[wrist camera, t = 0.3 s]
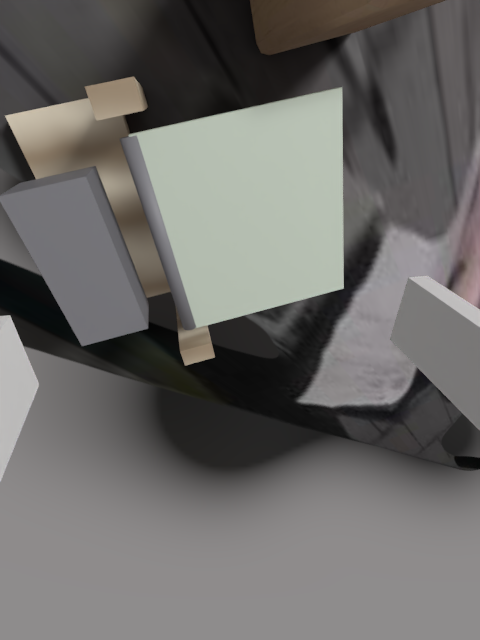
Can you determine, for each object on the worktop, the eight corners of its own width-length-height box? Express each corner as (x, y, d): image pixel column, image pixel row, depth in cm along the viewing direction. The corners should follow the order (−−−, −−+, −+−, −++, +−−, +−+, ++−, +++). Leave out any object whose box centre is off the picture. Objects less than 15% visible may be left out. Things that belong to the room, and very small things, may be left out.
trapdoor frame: (13, 115, 29) (-97, 124, 16) (142, 87, 30) (133, 76, 17) (102, 301, 40) (77, 395, 27) (195, 277, 41) (215, 357, 28)
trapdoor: (7, 158, 22) (-19, 168, 18) (319, 89, 23) (346, 86, 20) (97, 332, 30) (90, 361, 26) (326, 271, 31) (346, 291, 28)
